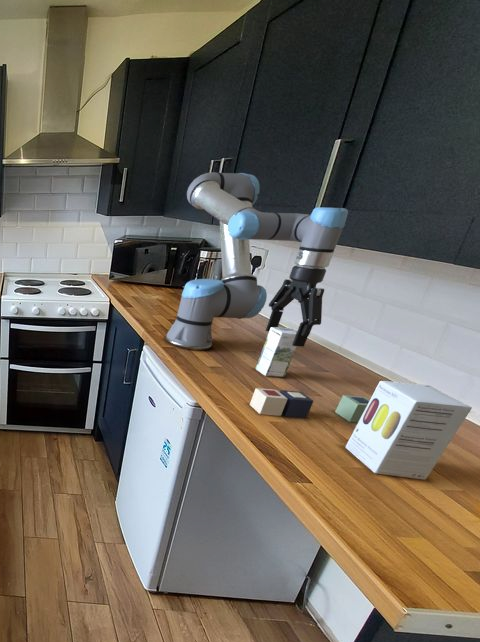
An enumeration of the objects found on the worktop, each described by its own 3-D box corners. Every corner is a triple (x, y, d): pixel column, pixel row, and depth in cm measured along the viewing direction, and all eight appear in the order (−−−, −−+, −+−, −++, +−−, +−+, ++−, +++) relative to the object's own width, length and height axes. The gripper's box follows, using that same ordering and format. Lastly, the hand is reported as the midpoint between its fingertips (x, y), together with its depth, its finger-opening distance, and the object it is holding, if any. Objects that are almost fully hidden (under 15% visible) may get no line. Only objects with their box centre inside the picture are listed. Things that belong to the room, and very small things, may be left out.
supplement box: (343, 447, 89) (377, 379, 82) (390, 452, 88) (428, 383, 81) (375, 474, 80) (416, 401, 73) (428, 481, 79) (475, 406, 72)
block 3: (334, 411, 104) (343, 394, 102) (355, 413, 103) (364, 396, 101) (349, 422, 99) (358, 403, 97) (371, 423, 99) (380, 405, 97)
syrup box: (273, 370, 128) (289, 327, 122) (285, 378, 123) (302, 333, 117) (254, 369, 128) (270, 325, 123) (265, 376, 123) (282, 332, 117)
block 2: (273, 406, 105) (280, 389, 103) (293, 408, 105) (301, 391, 103) (284, 416, 101) (292, 398, 99) (306, 418, 100) (314, 400, 98)
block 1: (249, 404, 106) (255, 387, 104) (269, 406, 105) (276, 389, 103) (259, 414, 101) (266, 396, 99) (280, 416, 101) (288, 398, 99)
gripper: (270, 259, 124) (248, 325, 132) (326, 273, 101) (296, 351, 109) (296, 260, 123) (273, 326, 131) (358, 275, 100) (325, 354, 109)
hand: (283, 338), depth 120 cm, fingers open, 13 cm apart
